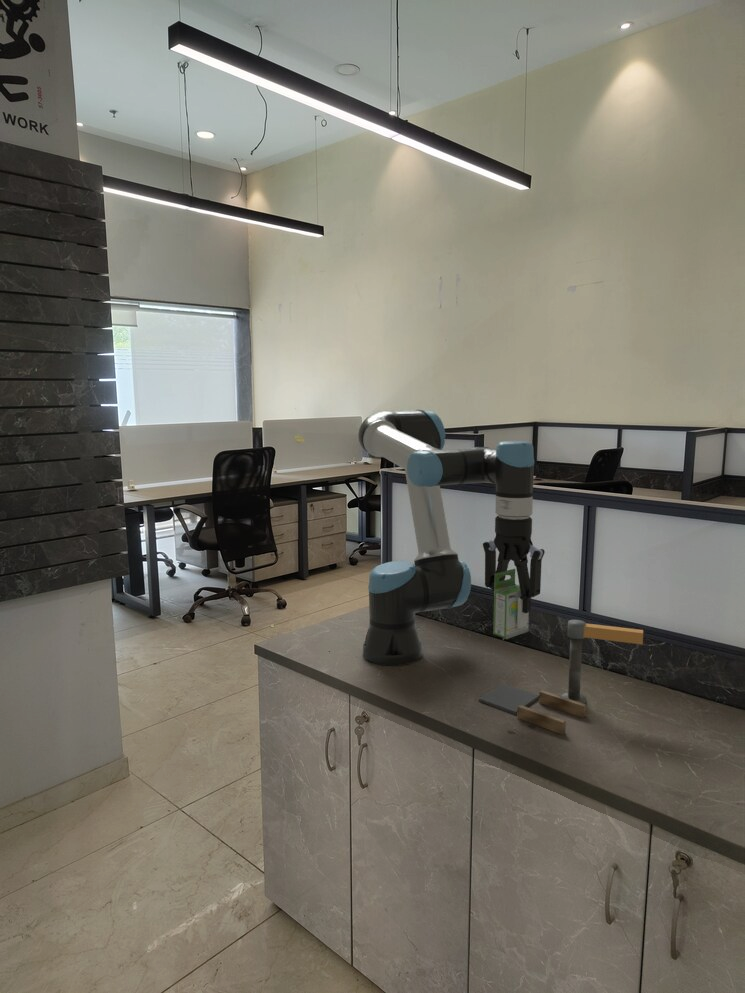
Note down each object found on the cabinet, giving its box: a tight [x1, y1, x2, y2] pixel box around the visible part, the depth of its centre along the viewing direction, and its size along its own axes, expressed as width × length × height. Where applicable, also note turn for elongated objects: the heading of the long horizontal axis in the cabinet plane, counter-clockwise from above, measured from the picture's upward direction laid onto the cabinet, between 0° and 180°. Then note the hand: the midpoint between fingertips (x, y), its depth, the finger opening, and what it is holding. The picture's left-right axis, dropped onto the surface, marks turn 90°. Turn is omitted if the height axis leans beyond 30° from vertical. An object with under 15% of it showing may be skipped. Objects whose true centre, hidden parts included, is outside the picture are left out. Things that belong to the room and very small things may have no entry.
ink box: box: [492, 568, 530, 640], centre depth 136 cm, size 7×4×13 cm, turn 127°
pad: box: [478, 683, 539, 715], centre depth 139 cm, size 9×10×1 cm
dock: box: [516, 637, 587, 736], centre depth 133 cm, size 10×18×14 cm, turn 137°
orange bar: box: [567, 619, 644, 645], centre depth 134 cm, size 15×4×3 cm, turn 68°
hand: (511, 623), depth 136 cm, fingers closed on ink box, 4 cm apart
